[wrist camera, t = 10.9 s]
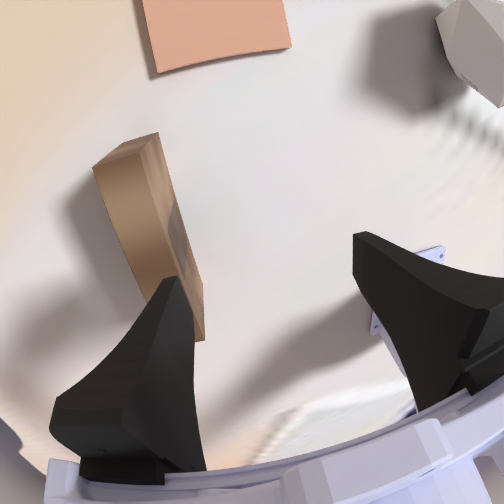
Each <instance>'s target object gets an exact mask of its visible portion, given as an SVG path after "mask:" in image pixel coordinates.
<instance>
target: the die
mask: <svg viewBox="0 0 504 504" xmlns="http://www.w3.org/2000/svg"><path fill="white" fill-rule="evenodd" d="M435 20H436V23H437V26H438V29H439V32H440V35H441V39H442V42H443V45H444V49H445V53H446V57H447V59H448V61H449V63H450V64H451V66H452V68H453V70H454V72H455V74H456V76H457V77H458V78H459V79H461V80H462V81H464V82H465V83H467V84H468V85H469V86H471V87H472V88H473V89H475V90H476V91H477V92H479V93H480V94H481V95H483V96H484V97H485V98H486V99H488V100H489V101H490V102H491V103H493V104H494V105H495V106H496V107H497V108H501V107H503V106H504V3H503V2H501V1H498V0H455V1H454V2H453V3H452V4H451V5H450V6H448V7H447V8H446V9H445V10H444V11H442V12H441V13H440V14H439V15H438V16H437V17H436V18H435Z"/></svg>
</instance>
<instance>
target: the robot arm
mask: <svg viewBox="0 0 504 504" xmlns="http://www.w3.org/2000/svg"><path fill="white" fill-rule="evenodd" d="M444 255H445V247H443V246H439V247H436V248H432V249H429V250H426V251H422V252H419V253H415V254H414V253H412V252H410V251H408V250H406V249H403V248H401V247H399V246H397V245H395V244H393V243H391V242H389V241H387V240H385V239H383V238H381V237H379V236H377V235H374V234H372V233H370V232H367V231H364V232H360V233H356V234H353V276H354V278H355V280H356V283H357V285H358V287H359V289H360V291H361V293H362V294H363V296H364V297H365V299H366V300H367V302H368V304H369V305H370V307H371V308H372V310H373V313H372V320H371V327H370V334H371V336H375V335H378V334H380V336H381V338H382V339H383V341H384V343H385V345H386V346H387V348H388V350H389V351H390V353H391V355H392V357H393V358H394V360H395V362H396V364H397V365H398V367H399V369H400V371H401V372H402V374H403V375H404V376H405V377H407V378H408V381H409V384H410V387H411V389H412V392H413V396H414V399H415V408H416V411H417V414H415V415H412V416H410V417H408V418H406V419H404V420H401V421H399V422H397V423H394V424H392V425H390V426H387V427H385V428H382V429H380V430H377V431H375V432H372V433H369V434H367V435H364V436H361V437H358V438H356V439H353V440H350V441H347V442H344V443H341V444H338V445H334V446H331V447H328V448H324V449H321V450H317V451H314V452H310V453H306V454H302V455H298V456H294V457H290V458H286V459H281V460H276V461H271V462H266V463H261V464H255V465H250V466H243V467H237V468H229V469H221V470H212V471H207V469H206V464H205V460H204V455H203V451H202V445H201V440H200V434H199V428H198V421H197V414H196V406H195V396H194V380H193V379H194V346H195V330H194V319H193V312H192V309H191V307H190V304H189V302H188V300H187V297H186V295H185V292H184V290H183V287H182V285H181V282H180V280H179V277H178V275H176V276H172V277H168V278H163V280H162V281H161V283H160V284H159V286H158V287H157V289H156V291H155V292H154V294H153V296H152V297H151V299H150V300H149V302H148V303H147V305H146V307H145V308H144V310H143V311H142V313H141V314H140V316H139V317H138V318H137V320H136V321H135V323H134V324H133V326H132V327H131V328H130V330H129V331H128V332H127V334H126V335H125V336H124V338H123V339H122V340H121V341H120V342H119V343H118V345H117V346H116V347H115V348H114V349H113V350H112V351H111V352H110V353H109V354H108V355H107V357H106V358H105V359H104V360H103V361H102V362H101V363H100V364H99V365H98V366H97V367H95V368H94V369H93V370H92V371H91V372H90V373H89V374H88V375H86V376H85V377H84V378H83V379H82V380H80V381H79V382H78V383H77V384H75V385H74V386H72V387H71V388H70V389H68V390H67V391H65V392H64V393H63V394H61V395H60V396H58V397H57V398H56V401H55V404H54V408H53V412H52V416H51V421H50V425H49V430H50V433H51V434H52V436H53V437H54V438H55V439H56V440H57V441H58V442H60V443H61V444H62V445H64V446H65V447H67V448H68V449H70V450H71V451H73V452H74V453H76V454H77V455H79V456H80V457H81V461H80V464H78V463H75V462H72V461H65V460H59V459H52V458H51V459H49V463H48V470H47V477H46V486H45V494H44V504H492V502H491V500H490V497H489V495H488V493H487V490H486V488H485V486H484V483H483V481H482V479H481V477H480V474H479V472H478V470H477V468H476V466H475V464H474V462H473V459H474V458H476V457H477V456H492V458H493V459H494V461H495V463H496V464H497V466H498V467H499V469H500V470H501V472H502V473H503V475H504V278H499V277H490V276H485V275H479V274H474V273H469V272H466V271H462V270H458V269H454V268H451V267H448V266H445V265H442V264H443V260H444Z"/></svg>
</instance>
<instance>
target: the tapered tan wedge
mask: <svg viewBox="0 0 504 504" xmlns="http://www.w3.org/2000/svg"><path fill="white" fill-rule="evenodd" d="M92 169H93V172H94V175H95V178H96V181H97V184H98V187H99V190H100V192H101V195H102V198H103V201H104V203H105V206H106V209H107V212H108V214H109V217H110V219H111V222H112V224H113V227H114V230H115V232H116V234H117V237H118V239H119V242H120V244H121V247H122V249H123V251H124V254H125V256H126V258H127V261H128V263H129V265H130V267H131V270H132V272H133V274H134V276H135V278H136V281H137V283H138V285H139V287H140V289H141V291H142V293H143V295H144V298H145V300H146V302H147V303H148V302H149V300H150V299H151V297H152V296H153V294H154V292H155V291H156V289H157V287H158V286H159V284H160V283H161V281H162V280H163V278H168V277H172V276H176V275H178V277H179V280H180V282H181V285H182V287H183V290H184V292H185V295H186V297H187V300H188V302H189V304H190V307H191V309H192V312H193V319H194V330H195V342H199V341H204V340H205V327H204V304H203V284H202V281H201V278H200V275H199V272H198V268H197V265H196V262H195V259H194V256H193V253H192V250H191V247H190V243H189V240H188V237H187V234H186V230H185V227H184V224H183V220H182V217H181V214H180V210H179V207H178V203H177V200H176V197H175V193H174V190H173V186H172V182H171V179H170V175H169V172H168V168H167V164H166V160H165V157H164V153H163V149H162V145H161V141H160V137H159V133H158V132H157V133H153V134H150V135H146V136H143V137H140V138H136V139H133V140H130V141H127V142H124V143H122V144H121V145H119V146H118V147H117V148H115V149H114V150H113V151H112V152H110V153H109V154H108V155H107V156H105V157H104V158H103V159H102V160H101V161H99V162H98V163H97V164H96V165H95V166H93V167H92Z"/></svg>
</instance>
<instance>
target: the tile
mask: <svg viewBox="0 0 504 504" xmlns="http://www.w3.org/2000/svg"><path fill="white" fill-rule="evenodd" d="M142 2H143V7H144V12H145V17H146V22H147V26H148V31H149V36H150V41H151V45H152V50H153V54H154V59H155V63H156V67H157V72H158V73H159V74H160V73H163V72H166V71H170V70H174V69H177V68H181V67H185V66H189V65H193V64H197V63H201V62H206V61H210V60H215V59H220V58H225V57H231V56H236V55H242V54H249V53H255V52H262V51H270V50H279V49H289V48H292V45H291V40H290V35H289V30H288V25H287V20H286V15H285V11H284V6H283V2H282V0H142Z"/></svg>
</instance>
